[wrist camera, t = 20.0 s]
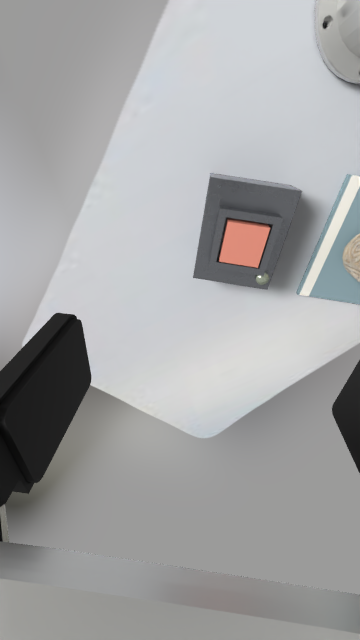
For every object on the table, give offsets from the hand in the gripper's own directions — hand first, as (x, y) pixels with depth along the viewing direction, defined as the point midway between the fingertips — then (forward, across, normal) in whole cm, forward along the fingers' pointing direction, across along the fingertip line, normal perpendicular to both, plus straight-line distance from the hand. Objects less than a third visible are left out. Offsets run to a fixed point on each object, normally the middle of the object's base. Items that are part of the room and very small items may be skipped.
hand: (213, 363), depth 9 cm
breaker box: (+30, -4, +3) cm, 31 cm away
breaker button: (+25, -4, +3) cm, 25 cm away
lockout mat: (+30, -21, +4) cm, 37 cm away
